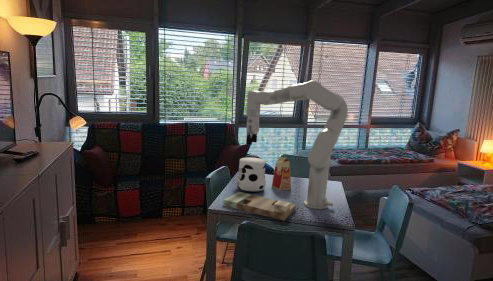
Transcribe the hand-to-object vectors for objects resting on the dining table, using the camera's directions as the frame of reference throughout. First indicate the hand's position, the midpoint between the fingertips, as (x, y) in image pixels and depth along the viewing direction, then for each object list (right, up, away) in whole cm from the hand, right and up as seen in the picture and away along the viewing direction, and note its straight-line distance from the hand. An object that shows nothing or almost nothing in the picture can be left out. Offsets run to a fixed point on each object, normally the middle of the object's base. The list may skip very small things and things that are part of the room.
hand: (251, 143), depth 188 cm
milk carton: (+18, -28, +19) cm, 38 cm away
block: (+14, -32, -28) cm, 45 cm away
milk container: (0, -28, +10) cm, 30 cm away
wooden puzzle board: (+4, -33, -19) cm, 38 cm away
